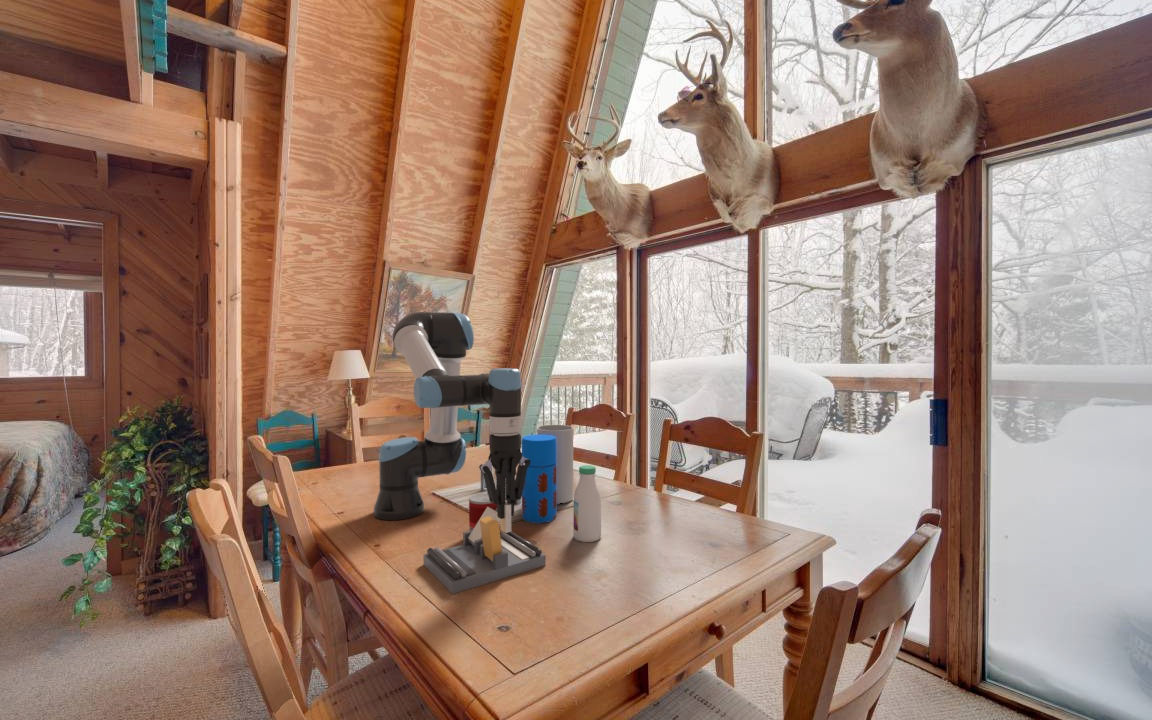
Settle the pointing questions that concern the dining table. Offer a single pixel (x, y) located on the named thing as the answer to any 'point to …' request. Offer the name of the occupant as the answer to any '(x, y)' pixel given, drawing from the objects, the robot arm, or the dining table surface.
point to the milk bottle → (587, 506)
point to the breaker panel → (482, 562)
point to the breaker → (477, 529)
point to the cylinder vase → (562, 459)
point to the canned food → (478, 508)
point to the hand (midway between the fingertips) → (505, 530)
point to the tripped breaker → (490, 537)
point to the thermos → (540, 478)
